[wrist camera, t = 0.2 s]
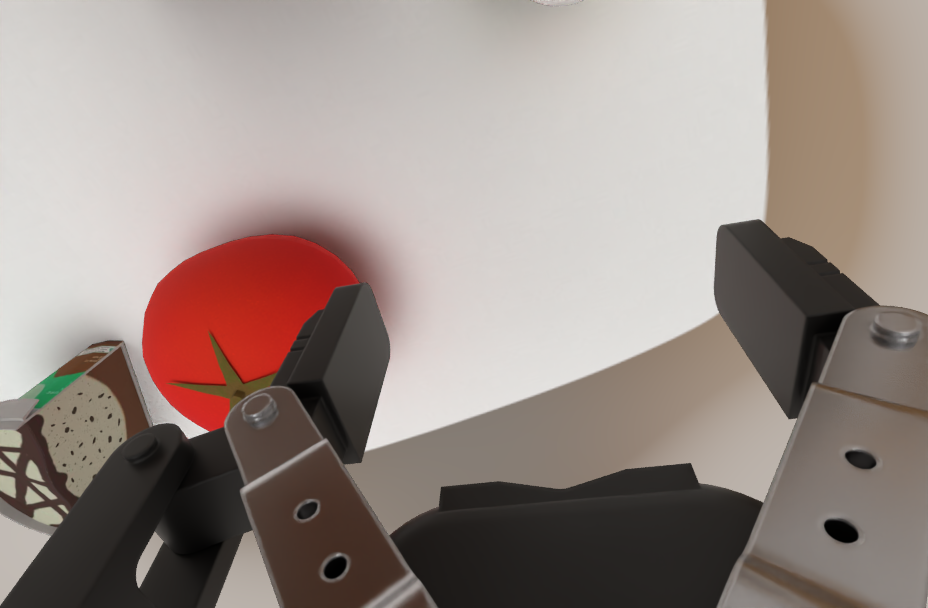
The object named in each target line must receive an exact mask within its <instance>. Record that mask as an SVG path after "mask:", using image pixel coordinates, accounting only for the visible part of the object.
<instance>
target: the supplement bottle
mask: <svg viewBox="0 0 928 608" xmlns="http://www.w3.org/2000/svg"><path fill="white" fill-rule="evenodd" d="M531 1H534V2H537V3H539V4H543V5H548V6H566V5H571V4H575V3H578V2H581V1H583V0H531Z"/></svg>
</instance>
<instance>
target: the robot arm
mask: <svg viewBox="0 0 928 608" xmlns="http://www.w3.org/2000/svg"><path fill="white" fill-rule="evenodd" d="M714 295H715V301H716V305H717V308H718V311H719V313H720V315H721V316H722V318H723V319H724V321H725V322H726V324H727V325H728V327H729V329H730V330H731V332H732V333H733V335H734V336H735V338H736V339H737V341H738V342H739V344H740V345H741V347H742V348H743V350H744V351H745V353H746V355H747V356H748V357H749V359H750V361H751V362H752V364H753V365H754V367H755V368H756V370H757V371H758V373H759V374H760V376H761V377H762V379H763V381H764V382H765V383H766V385H767V387H768V388H769V390H770V391H771V393H772V394H773V396H774V397H775V399H776V400H777V402H778V403H779V405H780V406H781V408H782V410H783V411H784V413H785V414H786V416H787V417H788V419H795V418H797V421H796V423H795V426H794V428H793V431H792V433H791V436H790V438H789V441H788V443H787V446H786V448H785V450H784V453H783V455H782V458H781V460H780V463H779V466H778V468H777V470H776V473H775V476H774V478H773V481H772V483H771V485H770V488H769V491H768V493H767V495H766V498H765V501H764V503H763V502H761V501H759V500H756V499H754V498H751V497H749V496H746V495H744V494H742V493H738V492H735V491H732V490H729V489H726V488H721V487H717V486H713V485H708V484H700V483H698V480H697V478H696V475H695V473H694V470H693V468H692V465H691V463H688V464H676V465H666V466H655V467H645V468H635V469H625V470H622V471H619V472H616V473H613V474H610V475H607V476H604V477H601V478H598V479H595V480H592V481H588V482H585V483H583V484H579V485H576V486H573V487H570V488H566V489H553V488H545V487H538V486H530V485H523V484H515V483H507V482H488V483H477V484H467V485H456V486H446V487H441V493H440V501H439V507H436V508H434V509H431V510H429V511H427V512H425V513H422V514H420V515H418V516H416V517H415V518H413V519H411V520H410V521H408V522H406V523H405V524H403V525H402V526H401V527H399V528H398V529H397V530H395V531H394V532H393V533H392V534H391V535H388V533H387V532H386V530H385V529H384V527H383V525H382V524H381V522H380V521H379V519H378V517H377V516H376V514H375V513H374V511H373V510H372V508H371V506H370V505H369V503H368V502H367V500H366V499H365V497H364V496H363V494H362V492H361V491H360V489H359V488H358V487H357V485H356V483H355V482H354V480H353V478H352V477H351V475H350V474H349V472H348V471H347V469H346V468H345V466H344V464H354V463H361V462H362V458H363V454H364V451H365V447H366V443H367V440H368V436H369V432H370V429H371V425H372V421H373V418H374V414H375V410H376V407H377V403H378V399H379V396H380V392H381V388H382V385H383V381H384V377H385V374H386V370H387V366H388V363H389V359H390V343H389V337H388V334H387V331H386V328H385V325H384V322H383V320H382V317H381V314H380V311H379V309H378V306H377V303H376V300H375V297H374V295H373V292H372V289H371V287H370V286H369V285H368V284H367V283H359V284H353V285H347V286H341V287H336V288H335V289H334V291H333V293H332V295H331V297H330V298H329V300H328V302H327V304H326V306H325V308H324V309H322V310H318V311H317V312H316V313H315V314H314V315H312V316H311V317H310V318H309V319H308V320H307V321H306V322H305V323H304V324H303V326H302V328H301V330H300V331H299V333H298V335H297V337H296V340H295V341H294V342H293V344H292V346H291V348H290V352H288V353H287V355H286V357H285V359H284V361H283V363H282V364H281V366H280V368H279V370H278V372H277V374H276V376H275V377H274V379H273V381H272V383H271V385H270V387H267V388H263V389H261V390H258V391H256V392H254V393H252V394H250V395H248V396H246V397H245V398H244V399H242V400H241V401H240V402H238V403H237V404H236V405H235V406H234V407H233V408H232V409H231V411H230V412H229V413H228V415H227V417H226V419H225V422H224V427H222V428H219V429H216V430H213V431H210V432H208V433H205V434H202V435H199V436H196V437H194V438H191V439H187V437H186V436H185V434H184V433H183V432H182V430H181V429H180V428H179V426H177V425H175V424H169V423H166V424H159V425H155V426H152V427H149V428H147V429H145V430H142V431H140V432H139V433H137V434H135V435H133V436H132V437H130V438H129V439H127V440H126V441H125V442H123V443H122V444H121V445H120V446H119V447H118V448H117V449H116V450H115V451H114V452H113V453H112V454H111V455H110V457H109V458H108V459H107V461H106V462H105V463H104V465H103V466H102V468H101V469H100V470H99V472H98V473H97V474H96V476H95V477H94V478H93V480H92V481H91V483H90V484H89V485H88V487H87V488H86V489H85V491H84V492H83V493H82V495H81V496H80V498H79V499H78V500H77V502H76V503H75V504H74V506H73V507H72V508H71V510H70V511H69V513H68V514H67V515H66V517H65V518H64V519H63V521H62V522H61V523H60V525H59V526H58V528H57V529H56V530H55V532H54V533H53V534H52V536H51V537H50V539H49V540H48V541H47V543H46V544H45V545H44V547H43V548H42V549H41V551H40V552H39V554H38V555H37V556H36V558H35V559H34V560H33V562H32V563H31V564H30V566H29V567H28V569H27V570H26V571H25V573H24V574H23V575H22V577H21V578H20V579H19V581H18V582H17V584H16V585H15V586H14V588H13V589H12V591H11V592H10V593H9V594H8V596H7V597H6V599H5V600H4V601H3V603H2V604H1V606H0V608H215V606H216V603H217V601H218V598H219V595H220V593H221V590H222V588H223V585H224V582H225V580H226V577H227V575H228V572H229V570H230V567H231V565H232V562H233V559H234V557H235V554H236V552H237V549H238V547H239V544H240V541H241V539H242V536H243V533H246V532H249V531H251V530H253V532H254V535H255V538H256V541H257V544H258V547H259V549H260V552H261V555H262V558H263V561H264V564H265V566H266V569H267V572H268V575H269V578H270V580H271V584H272V586H273V589H274V592H275V595H276V598H277V601H278V604H279V606H280V608H926V603H927V596H928V315H927V314H924V313H922V312H918V311H915V310H911V309H907V308H902V307H895V306H880V305H879V304H878V303H877V302H875V301H874V300H873V299H872V298H871V297H870V296H868V295H867V294H866V293H865V292H864V291H863V290H862V289H860V288H859V287H858V286H857V285H856V284H855V283H854V282H852V281H851V280H850V279H849V278H848V277H847V276H846V275H844V274H843V273H841V274H840V271H839V270H838V269H837V268H836V267H835V266H834V265H833V264H832V263H828V262H827V259H826V258H825V257H824V256H823V255H821V254H820V253H819V252H818V251H817V250H816V249H815V248H813V247H812V246H809V245H807V244H805V243H802V242H800V241H797V240H795V239H792V238H789V237H788V238H782V239H780V238H779V237H778V236H777V235H776V234H775V233H774V232H773V231H772V230H771V229H770V228H769V227H768V226H767V225H766V224H765V223H763V222H762V221H761V220H759V219H757V220H751V221H744V222H738V223H732V224H726V225H721V226H720V227H719V229H718V232H717V241H716V259H715V277H714ZM154 531H155V532H156V533H157V534H158V535H159V537H160V538H161V539H162V540H163V541H164V542H163V544H162V546H161V548H160V550H159V552H158V554H157V556H156V558H155V560H154V562H153V563H152V565H151V567H150V569H149V571H148V573H147V575H146V577H145V579H144V581H143V582H142V584H141V586H140V588H138V586H137V582H136V568H137V564H138V561H139V559H140V556H141V555H142V553H143V551H144V549H145V547H146V545H147V544H148V542H149V540H150V538H151V537H152V535H153V533H154Z"/></svg>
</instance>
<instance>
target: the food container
mask: <svg viewBox="0 0 928 608" xmlns="http://www.w3.org/2000/svg"><path fill="white" fill-rule="evenodd" d="M152 426H153V425H152V422H151V419H150V416H149V413H148V410H147V408H146V405H145V402H144V399H143V396H142V393H141V390H140V388H139V385H138V382H137V379H136V376H135V373H134V370H133V368H132V365H131V362H130V359H129V356H128V353H127V350H126V348H125V345H124V342H123V341H105V342H101V343H96V344H92V345H91V346H89V347H88V348H87V349H85V350H84V351H82V352H81V353H80V354H78V355H77V356H76V357H74V358H73V359H72V360H70V361H69V362H68V363H66V364H65V365H63V366H62V367H61V368H59V369H58V370H57V371H55V372H54V373H53V374H51V375H50V376H49V377H47V378H46V379H44V380H43V381H42V382H40V383H39V384H38V385H36V386H35V387H34V388H32V389H31V390H30V391H28V392H27V393H25V394H24V395H23V396H21V397H20V398H19V399H13V400H7V401H3V402H0V514H1V515H3V516H4V517H6V518H8V519H10V520H12V521H14V522H16V523H18V524H20V525H22V526H24V527H27V528H29V529H32V530H35V531H37V532H40V533H43V534H46V535H50V536H52V534H53V533H54V532H55V530H56V529H57V528H58V526H59V525H60V523H61V522H62V521H63V519H64V518H65V517H66V515H67V514H68V513H69V511H70V510H71V508H72V507H73V506H74V504H75V503H76V502H77V500H78V499H79V498H80V496H81V495H82V493H83V492H84V491H85V489H86V488H87V487H88V485H89V484H90V483H91V481H92V480H93V478H94V477H95V476H96V474H97V473H98V472H99V470H100V469H101V468H102V466H103V465H104V463H105V462H106V461H107V459H108V458H109V457H110V455H111V454H112V453H113V452H114V451H115V450H116V449H117V448H118V447H119V446H120V445H121V444H122V443H123V442H125V441H126V440H127V439H129V438H130V437H132V436H133V435H135V434H137V433H139V432H140V431H142V430H145V429H147V428H149V427H152Z"/></svg>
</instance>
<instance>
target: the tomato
mask: <svg viewBox="0 0 928 608" xmlns="http://www.w3.org/2000/svg"><path fill="white" fill-rule="evenodd" d="M353 284H359V281H358V280H357V278H356V277H355V275H354V274H353V272H352V270H350V269H349V268H348V267H347V266H346V265H345V264H344V263H343V262H342V261H341V260H340V259H339V258H338V257H337V256H336V255H334V254H333V253H331V252H330V251H328V250H326V249H325V248H323V247H321V246H320V245H318V244H317V243H314V242H311V241H308V240H305V239H302V238H299V237H296V236H288V235H275V234H270V235H260V236H251V237H246V238H242V239H238V240H234V241H230V242H228V243H225V244H222V245H219V246H217V247H214V248H211V249H209V250H206V251H203V252H201V253H199V254H197V255H195V256H193V257H191V258H189V259H187V260H185V261H183V262H182V263H181V264H179V265H178V266H177V267H176V268H174V269H173V270H172V271H171V272H170V273H169V274H168V275H166V276H165V277H164V278H163V279H162V280H161V281H160V282H159V283H158V284H157V286H156V288H155V290H154V292H153V294H152V296H151V299H150V301H149V304H148V306H147V309H146V311H145V316H144V327H143V338H142V348H143V358H144V361H145V363H146V366H147V368H148V371H149V373H150V375H151V378H152V380H153V381H154V383H155V385H156V386H157V388H158V389H159V391H160V392H161V394H162V395H163V396H164V397H165V398H166V399H167V401H168V402H169V403H170V404H171V405H172V406H173V407H174V408H175V409H176V410H178V411H179V412H180V413H181V414H182V415H183V416H185V417H186V418H188V419H189V420H191V421H192V422H194V423H195V424H197V425H199V426H200V427H202V428H204V429H206V430H208V431H213V430H216V429H219V428H222V427H224V422H225V419H226V417H227V415H228V413H229V412H230V411H231V409H232V408H233V407H234V406H235V405H236V404H237V403H238V402H240V401H241V400H242V399H244V398H245V397H246V396H248V395H250V394H252V393H254V392H256V391H258V390H261V389H263V388H267V387H270V385H271V383H272V381H273V379H274V377H275V376H276V374H277V372H278V370H279V368H280V366H281V364H282V363H283V361H284V359H285V357H286V355H287V353H288V352H290V348H291V346H292V344H293V342H294V341H295V340H296V337H297V335H298V333H299V331H300V330H301V328H302V326H303V324H304V323H305V322H306V321H307V320H308V319H309V318H310V317H311V316H312V315H314V314H315V313H316V312H317V311H318V310H322V309H324V308H325V306H326V304H327V302H328V300H329V298H330V297H331V295H332V293H333V291H334V289H335V288H336V287H341V286H347V285H353Z"/></svg>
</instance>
